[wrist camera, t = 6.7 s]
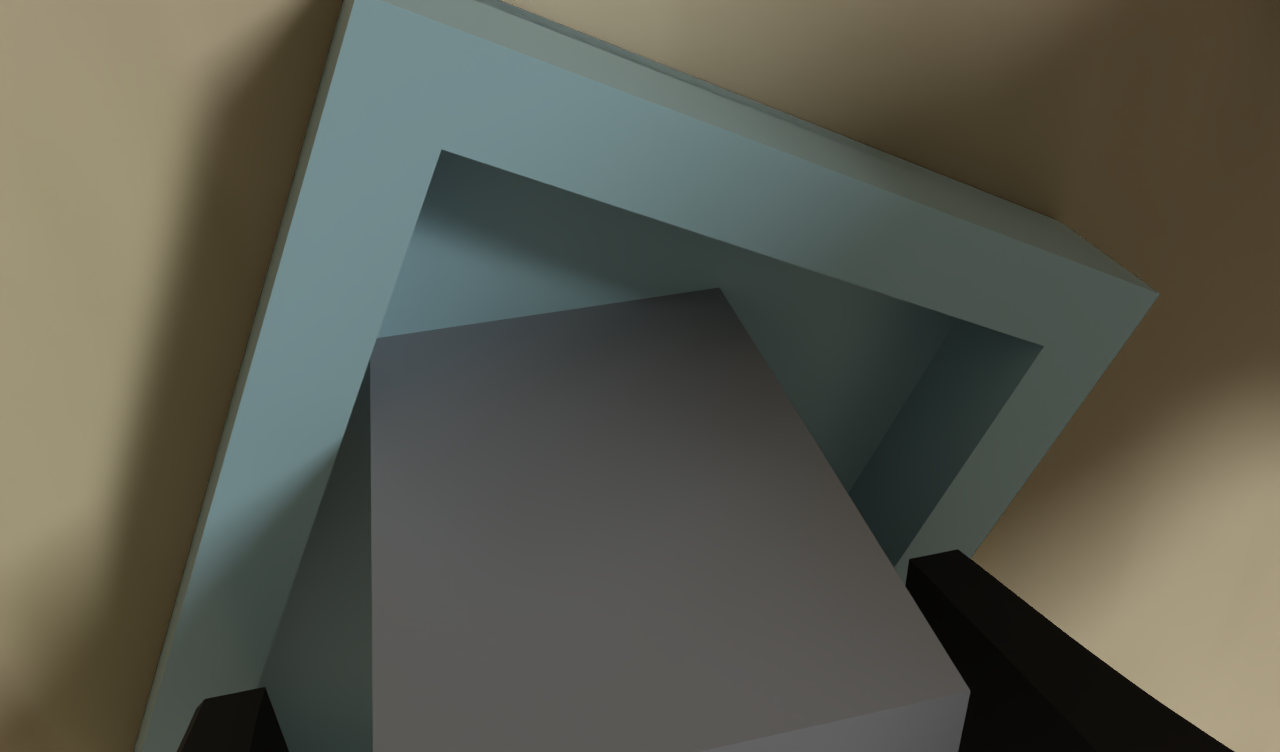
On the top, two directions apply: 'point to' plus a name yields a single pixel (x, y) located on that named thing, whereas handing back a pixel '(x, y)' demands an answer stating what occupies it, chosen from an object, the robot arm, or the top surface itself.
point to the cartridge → (627, 550)
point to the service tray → (597, 275)
